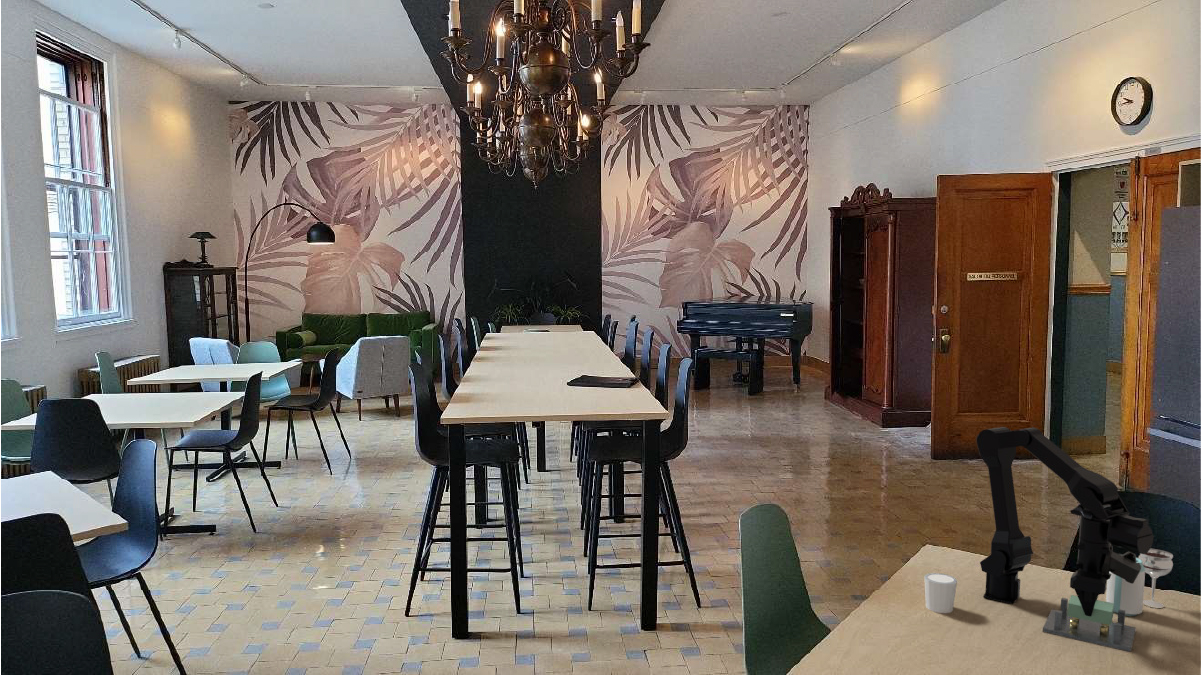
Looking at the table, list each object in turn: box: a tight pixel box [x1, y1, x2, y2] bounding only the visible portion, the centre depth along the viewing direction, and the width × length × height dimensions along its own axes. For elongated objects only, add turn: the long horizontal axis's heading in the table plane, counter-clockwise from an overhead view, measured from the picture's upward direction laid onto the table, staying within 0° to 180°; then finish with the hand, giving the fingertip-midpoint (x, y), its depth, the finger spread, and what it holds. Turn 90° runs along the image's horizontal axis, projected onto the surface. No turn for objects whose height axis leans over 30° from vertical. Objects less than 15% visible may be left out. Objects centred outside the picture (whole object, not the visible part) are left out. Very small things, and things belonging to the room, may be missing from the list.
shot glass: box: [923, 572, 958, 614], centre depth 197 cm, size 7×7×7 cm
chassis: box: [1042, 597, 1137, 652], centre depth 185 cm, size 16×12×4 cm
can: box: [1105, 557, 1146, 617], centre depth 196 cm, size 7×7×12 cm
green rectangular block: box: [1067, 594, 1114, 625], centre depth 185 cm, size 8×6×3 cm
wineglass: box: [1137, 548, 1174, 608], centre depth 199 cm, size 7×7×12 cm
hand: (1090, 611), depth 185 cm, fingers closed on green rectangular block, 5 cm apart
